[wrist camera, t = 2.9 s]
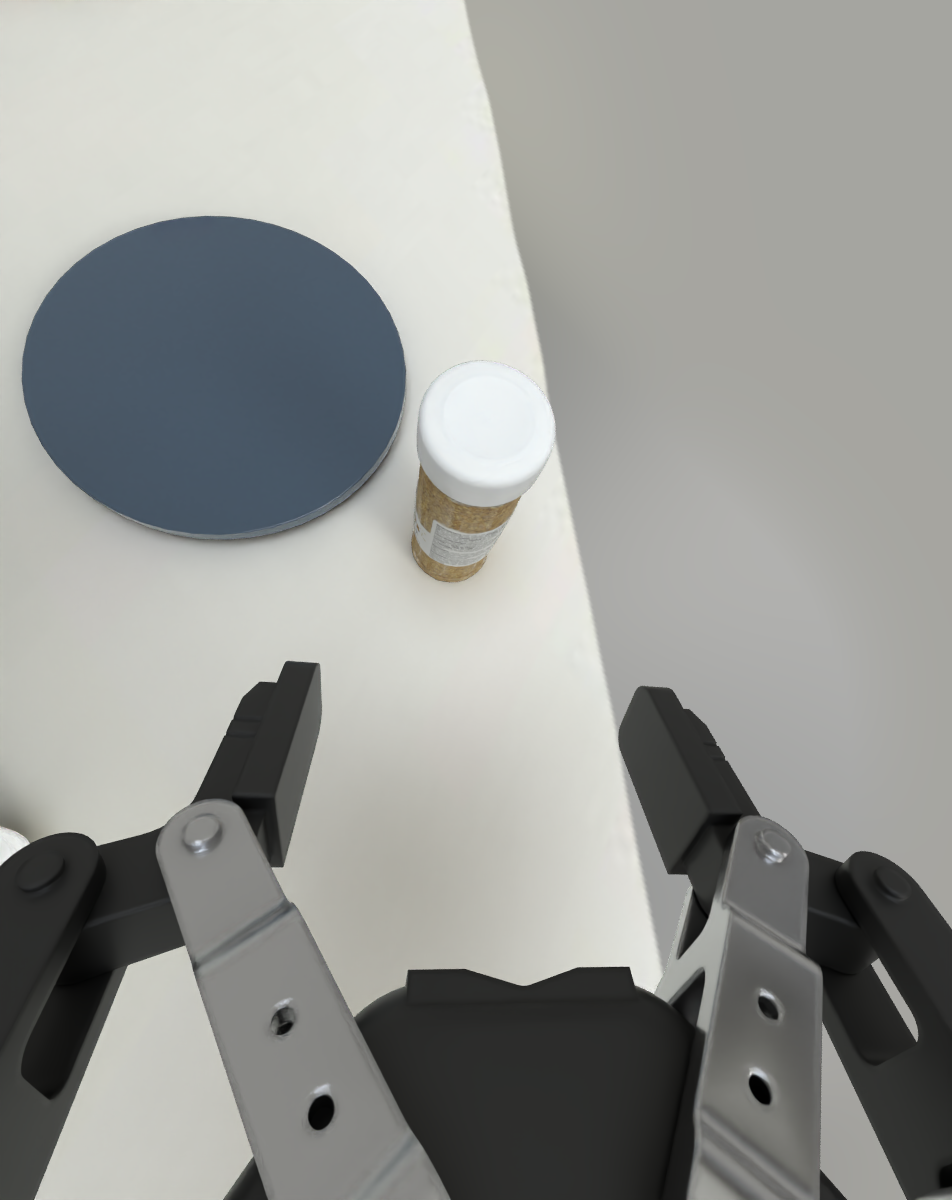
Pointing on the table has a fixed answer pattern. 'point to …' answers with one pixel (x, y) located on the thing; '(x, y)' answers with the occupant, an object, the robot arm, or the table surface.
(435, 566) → the sprinkles bottle
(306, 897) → the table surface
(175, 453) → the plate
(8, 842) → the spread jar
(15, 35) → the table surface
